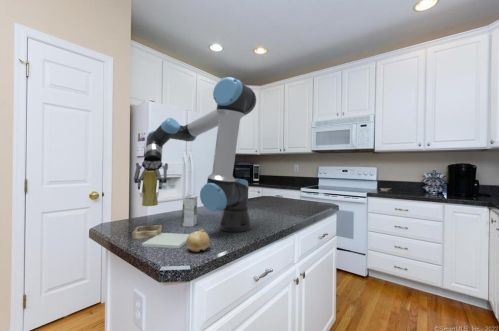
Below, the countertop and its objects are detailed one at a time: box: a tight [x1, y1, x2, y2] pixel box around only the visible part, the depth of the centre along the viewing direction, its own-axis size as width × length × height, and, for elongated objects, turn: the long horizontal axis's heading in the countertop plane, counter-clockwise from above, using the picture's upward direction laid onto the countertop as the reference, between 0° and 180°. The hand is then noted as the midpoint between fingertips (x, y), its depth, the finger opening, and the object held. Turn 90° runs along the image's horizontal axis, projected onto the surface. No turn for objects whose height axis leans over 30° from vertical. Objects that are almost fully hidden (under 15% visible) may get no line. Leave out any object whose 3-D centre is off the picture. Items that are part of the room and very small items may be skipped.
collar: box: [131, 224, 163, 240], centre depth 99 cm, size 10×10×2 cm
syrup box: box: [181, 194, 198, 228], centre depth 116 cm, size 6×6×14 cm
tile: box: [141, 232, 191, 249], centre depth 91 cm, size 14×14×1 cm
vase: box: [141, 170, 159, 207], centre depth 99 cm, size 6×6×14 cm
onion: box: [185, 227, 211, 253], centre depth 82 cm, size 8×8×7 cm
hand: (149, 194), depth 95 cm, fingers closed on vase, 5 cm apart
